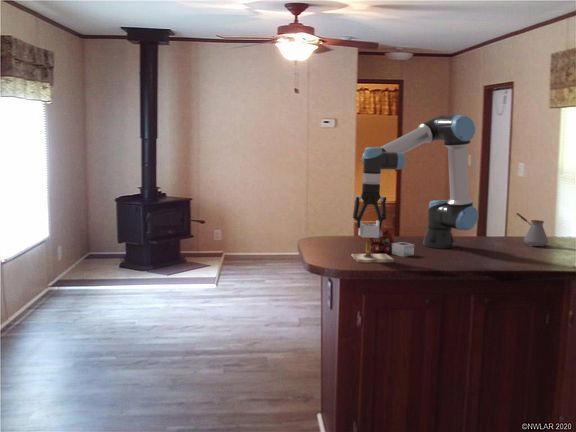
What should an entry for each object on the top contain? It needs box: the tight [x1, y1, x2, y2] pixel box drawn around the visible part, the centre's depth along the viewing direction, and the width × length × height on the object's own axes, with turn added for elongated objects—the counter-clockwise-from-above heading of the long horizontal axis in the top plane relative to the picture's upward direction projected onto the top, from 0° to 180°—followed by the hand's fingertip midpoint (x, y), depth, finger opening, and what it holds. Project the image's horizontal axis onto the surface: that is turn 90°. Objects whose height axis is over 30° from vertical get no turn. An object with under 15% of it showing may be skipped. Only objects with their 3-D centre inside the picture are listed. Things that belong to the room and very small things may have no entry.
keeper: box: [350, 240, 395, 263], centre depth 262 cm, size 16×12×8 cm
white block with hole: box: [391, 241, 415, 258], centre depth 274 cm, size 7×7×5 cm
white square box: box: [361, 223, 380, 238], centre depth 260 cm, size 7×7×5 cm
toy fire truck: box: [368, 229, 395, 254], centre depth 279 cm, size 7×12×10 cm, turn 96°
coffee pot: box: [515, 212, 549, 247], centre depth 308 cm, size 21×12×15 cm, turn 21°
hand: (368, 235), depth 260 cm, fingers closed on white square box, 7 cm apart
